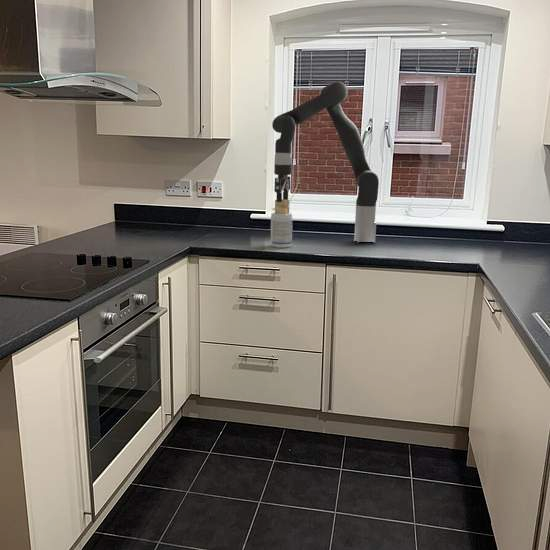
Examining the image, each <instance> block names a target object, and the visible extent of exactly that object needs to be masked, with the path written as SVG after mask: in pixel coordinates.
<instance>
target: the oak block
mask: <svg viewBox="0 0 550 550" xmlns="http://www.w3.org/2000/svg"><path fill="white" fill-rule="evenodd" d="M276 200H277V199H275V201H274V213H275V214H289V213H290V199H288V200H285V199H283V198H282V202H277V201H276Z"/></svg>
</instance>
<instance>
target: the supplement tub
mask: <svg viewBox="0 0 550 550" xmlns="http://www.w3.org/2000/svg"><path fill="white" fill-rule="evenodd" d="M292 245H293V213H291V212H289V214H275V212H272V213H271V215H270V246H271V247H273V248H279V249H280V248H281V249H282V248H283V249H286V248H291V247H292Z"/></svg>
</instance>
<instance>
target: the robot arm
mask: <svg viewBox="0 0 550 550" xmlns="http://www.w3.org/2000/svg"><path fill="white" fill-rule="evenodd" d="M347 97H348V87H347V85H346V84H345V83H343V82H341V81H334V82H331V83H330V84H328V85H326V86H324V87H322V89H321V92H320V94H318V95H317V96H315V97H313V98H311V99H309V100H307V101H305V102H303V103H301V104H299V105H298V106H296V107H294V108H293V109H291V110H289V111H286V112H284V113H281V114H279V115H277V116H276V117H275V118H274V119H273V120H272V126H271V127H272V129H273V130H274V132H275V133H278V134H280V137H279V138H278V139H276V141H275V144H274V145H275V146H274V147H275V148H274V149H275V151H274V163H273V165H274V169H273V172H274V175H275V176H276V175H277V177H275V178H274V193H276V199H275V200H276V201H277V202H282V199H285V200H289V191H291V176H290V175H292V168H293V167H292V166H293V163H292V161H293V156H292V145H293V144H292V143H293V140H294V135H295V132H296V125H301V124H303V123H304V122H306V121H307V120H310V119H311V118H312V117H314V116H315V115H317V114H318V113H320V112H322V111H324V110H325V109H326V111H327V114H328V115H329V117H330V118H331V119H330V120H332V124H333V125H334V129H335V131H336V132H337V136H338V139H339V141H340V145H341V147H342V148H343V150H344V153H345V156H346V157H347V159H348V162H349V163H350V165H351V168H352V171H353V176H354V178H355V179H354V180H355V182H356V185H357V187H358V189H357V190H358V191H357V196H356V197H357V198H356V200H355V201H356V202H355V216H354V221H355V222H354V236H353V241H354V242H355V241H357V242H356V243H359V242H373V243H376V235H377V234H376V233H377V232H376V231H377V222H376V209H377V201H378V196H379V185H380V184H379V183H380V182H379V181H380V180H379V177H378V175H377V174H376V173H375V172H374V171H372V169H371V167H370V166H369V163H368V161H367V159H366V155H365V148H364V144H363V139H362V137H361V135H360V132H359V129H358V128H357V125H355V123H354V122H353V121H352V119H351V120H350V119H349V118H348V117H347V116H348V115H346V114H345V112H344V111H343V108H342V106H341V105H342V104H341V103H342V102H344V101H345V100H346V99H347Z"/></svg>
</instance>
